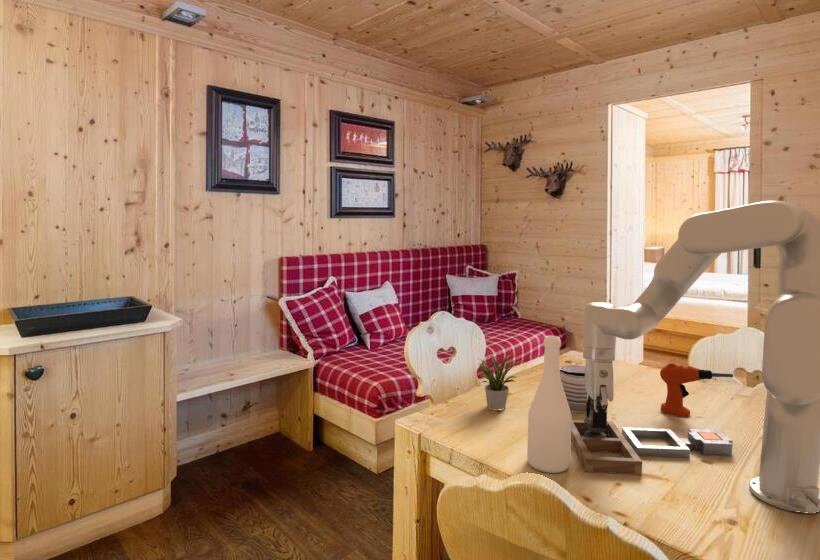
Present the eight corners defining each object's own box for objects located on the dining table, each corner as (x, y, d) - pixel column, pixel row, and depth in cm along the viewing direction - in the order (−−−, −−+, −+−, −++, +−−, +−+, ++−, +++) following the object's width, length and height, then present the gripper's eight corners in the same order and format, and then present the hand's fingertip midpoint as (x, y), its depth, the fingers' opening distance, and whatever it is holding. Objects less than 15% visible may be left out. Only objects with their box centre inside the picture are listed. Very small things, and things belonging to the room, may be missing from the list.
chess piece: (588, 428, 135) (589, 383, 133) (611, 434, 131) (613, 388, 130) (579, 435, 130) (581, 389, 129) (603, 442, 126) (605, 394, 125)
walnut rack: (641, 474, 114) (642, 461, 114) (585, 471, 115) (586, 459, 115) (612, 432, 136) (612, 421, 136) (565, 430, 137) (566, 419, 137)
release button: (721, 450, 125) (721, 439, 125) (704, 449, 125) (705, 439, 125) (713, 443, 129) (714, 433, 128) (697, 442, 129) (698, 432, 129)
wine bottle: (562, 454, 124) (566, 332, 120) (576, 474, 114) (581, 341, 110) (522, 455, 123) (525, 332, 120) (533, 475, 114) (537, 342, 110)
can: (556, 410, 152) (557, 370, 150) (558, 397, 162) (559, 360, 161) (597, 415, 148) (599, 374, 147) (596, 401, 159) (598, 363, 157)
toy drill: (736, 421, 139) (732, 367, 138) (659, 415, 150) (655, 365, 149) (736, 416, 143) (732, 362, 142) (662, 410, 154) (658, 361, 153)
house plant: (522, 399, 161) (523, 348, 159) (527, 416, 147) (529, 360, 145) (475, 398, 162) (476, 347, 160) (477, 414, 148) (478, 359, 146)
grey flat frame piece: (739, 459, 121) (740, 447, 120) (637, 455, 123) (637, 443, 123) (715, 438, 132) (715, 426, 132) (621, 434, 135) (622, 423, 134)
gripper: (625, 362, 119) (621, 437, 121) (604, 344, 136) (602, 410, 138) (591, 361, 120) (588, 436, 122) (575, 343, 137) (573, 409, 139)
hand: (595, 421), depth 130 cm, fingers closed on chess piece, 5 cm apart
